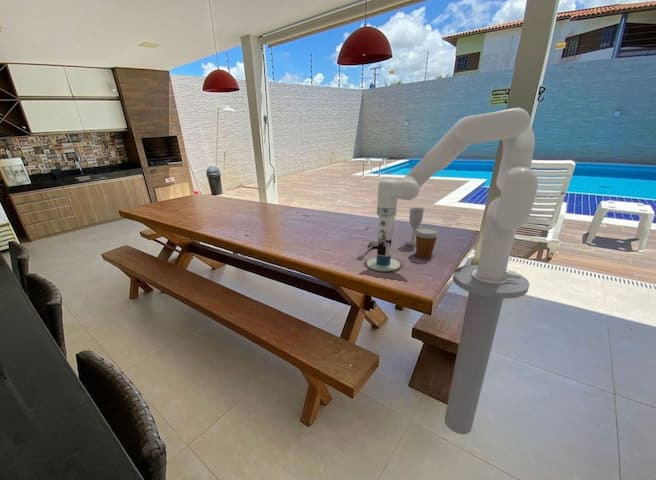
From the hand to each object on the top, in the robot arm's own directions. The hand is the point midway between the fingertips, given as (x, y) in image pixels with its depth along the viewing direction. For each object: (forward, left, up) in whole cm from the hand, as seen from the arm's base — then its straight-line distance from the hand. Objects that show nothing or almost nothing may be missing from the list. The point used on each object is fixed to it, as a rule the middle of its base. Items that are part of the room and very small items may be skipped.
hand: (384, 250), depth 130 cm
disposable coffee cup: (-14, -17, -7) cm, 23 cm away
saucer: (0, 0, -6) cm, 6 cm away
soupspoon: (+10, -13, -6) cm, 18 cm away
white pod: (0, 0, -1) cm, 1 cm away
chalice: (-7, -30, -7) cm, 31 cm away
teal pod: (0, 0, -6) cm, 6 cm away
